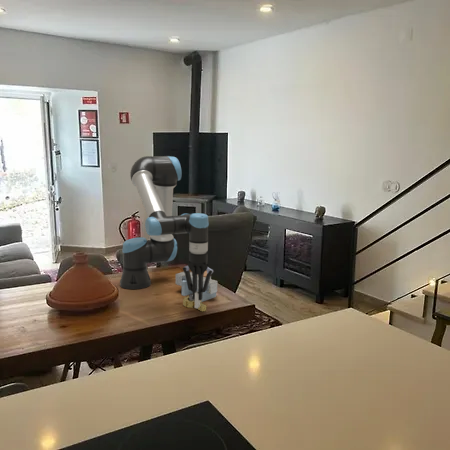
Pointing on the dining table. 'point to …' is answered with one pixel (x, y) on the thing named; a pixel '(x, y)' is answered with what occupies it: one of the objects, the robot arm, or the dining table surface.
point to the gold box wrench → (193, 304)
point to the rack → (204, 296)
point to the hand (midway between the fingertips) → (197, 306)
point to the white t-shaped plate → (211, 286)
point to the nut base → (191, 297)
